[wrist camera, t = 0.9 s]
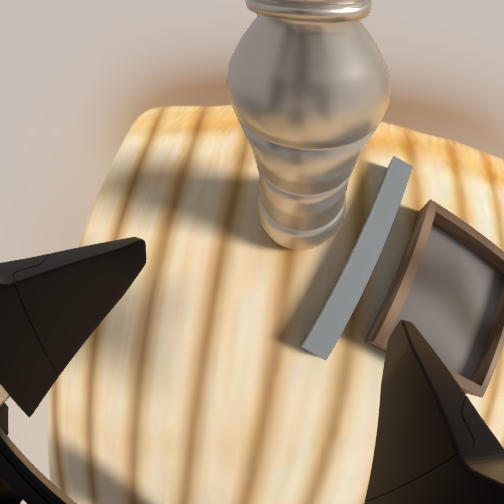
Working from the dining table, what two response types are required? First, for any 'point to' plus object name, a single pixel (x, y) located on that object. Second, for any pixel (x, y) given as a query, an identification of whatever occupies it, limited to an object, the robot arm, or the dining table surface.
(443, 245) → the brown square tray
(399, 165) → the door edge strip
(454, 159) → the dining table surface
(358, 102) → the plastic bottle
